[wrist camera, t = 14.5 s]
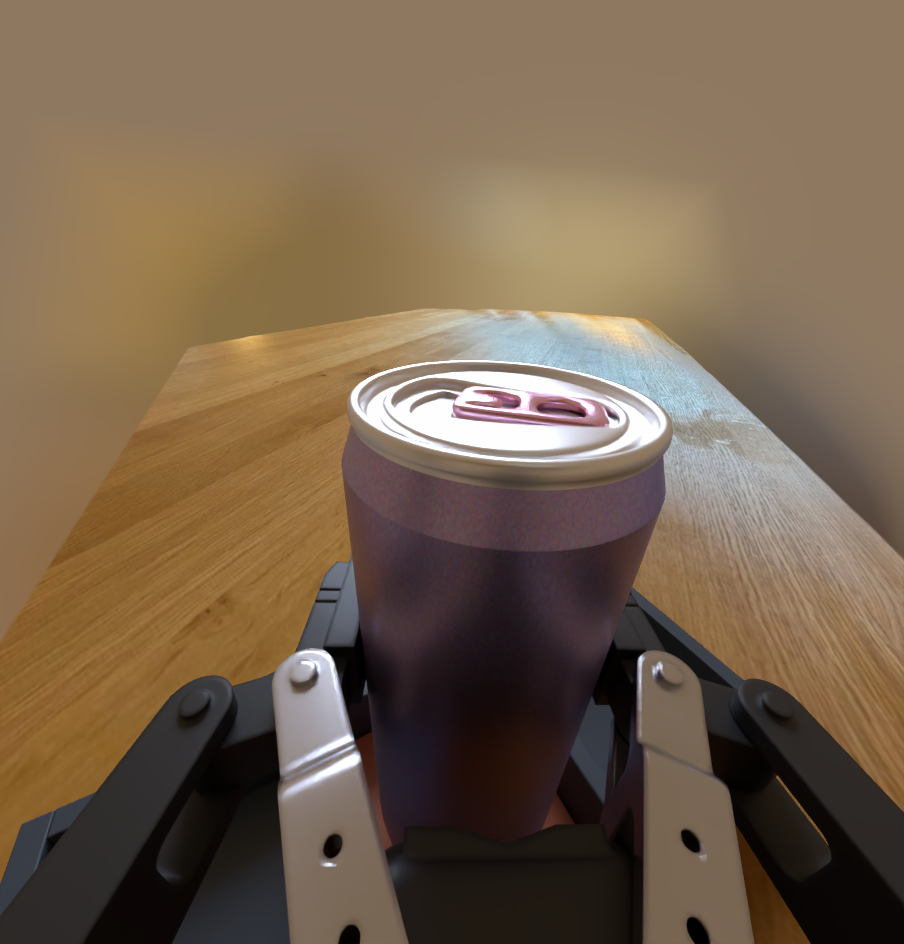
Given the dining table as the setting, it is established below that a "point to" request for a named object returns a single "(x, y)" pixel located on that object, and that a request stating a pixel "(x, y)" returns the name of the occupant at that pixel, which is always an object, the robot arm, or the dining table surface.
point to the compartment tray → (258, 822)
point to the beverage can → (491, 575)
